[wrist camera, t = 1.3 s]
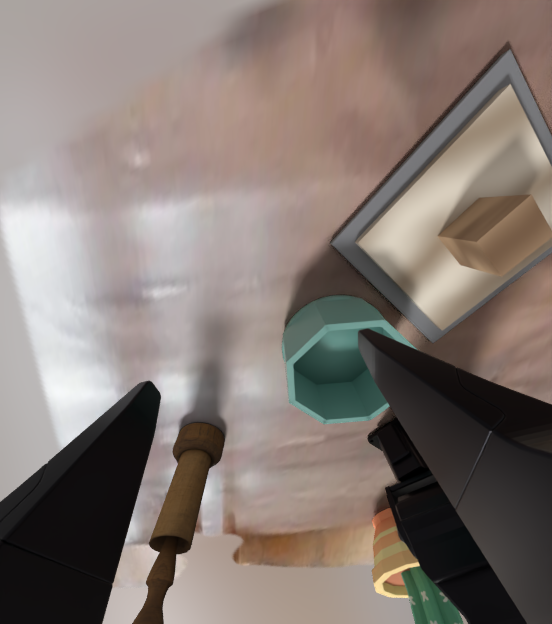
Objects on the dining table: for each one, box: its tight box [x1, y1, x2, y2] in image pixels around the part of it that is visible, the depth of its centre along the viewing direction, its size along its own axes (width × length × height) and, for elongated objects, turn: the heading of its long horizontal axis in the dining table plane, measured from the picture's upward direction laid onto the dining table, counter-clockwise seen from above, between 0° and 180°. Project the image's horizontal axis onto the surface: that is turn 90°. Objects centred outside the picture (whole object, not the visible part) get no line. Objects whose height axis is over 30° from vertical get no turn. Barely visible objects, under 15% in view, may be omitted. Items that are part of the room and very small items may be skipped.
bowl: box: [282, 295, 416, 424], centre depth 23 cm, size 12×12×6 cm
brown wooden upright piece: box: [132, 423, 225, 624], centre depth 23 cm, size 7×6×18 cm
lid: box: [355, 84, 552, 331], centre depth 18 cm, size 14×14×5 cm
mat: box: [330, 49, 552, 343], centre depth 21 cm, size 17×17×1 cm
